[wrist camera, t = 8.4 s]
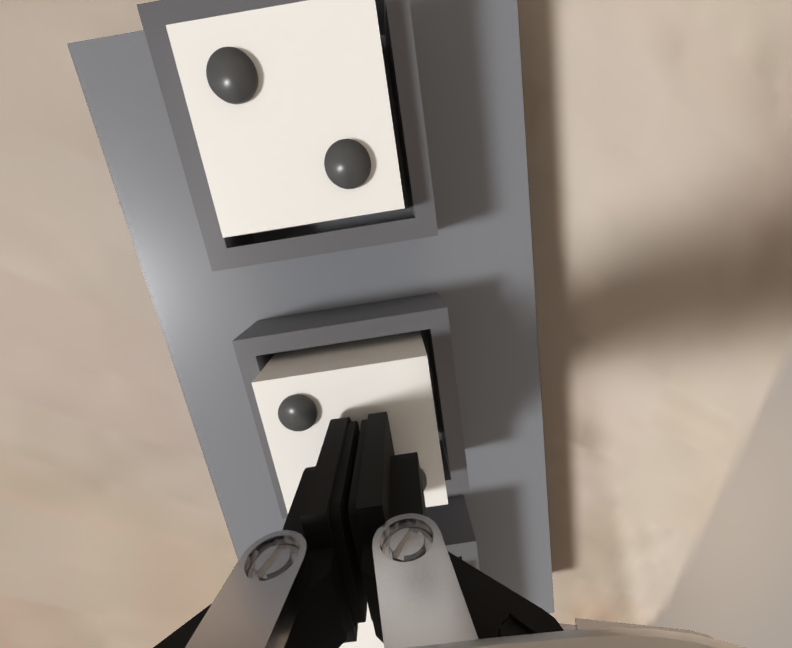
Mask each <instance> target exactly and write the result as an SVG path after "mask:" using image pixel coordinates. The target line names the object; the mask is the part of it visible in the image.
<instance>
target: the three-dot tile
mask: <svg viewBox="0 0 792 648" xmlns="http://www.w3.org/2000/svg"><path fill="white" fill-rule="evenodd" d="M252 387H253V390H254V394H255V397H256V401H257V405H258V408H259V412H260V415H261V419H262V423H263V426H264V430H265V433H266V437H267V441H268V444H269V448H270V451H271V455H272V459H273V462H274V466H275V470H276V473H277V477H278V480H279V484H280V488H281V491H282V495H283V498H284V502H285V506H286V509H287V513H289V510H290V507H291V505H292V502H293V499H294V496H295V493H296V491H297V488H298V485H299V482H300V480H301V477H302V474H303V471H304V470H305V468H307V467H314V466H316V463H317V460H318V457H319V454H320V451H321V448H322V445H323V441H324V438H325V435H326V432H327V429H328V426H329V423H330V420H331V419H338V418H345V417H350V419H351V421H357V422H358V426H359V431H360V428H361V421H362V420H365V419H368V414H372V413H379V412H386V411H387V415H388V419H389V425H390V431H391V436H392V442H393V447H394V453H395V455H399V454H406V453H413V452H417V453H418V459H419V465H420V471H421V477H422V484H423V491H424V498H425V506H426V507H432V506H439V505H446V504H448V498H447V491H446V484H445V477H444V470H443V463H442V456H441V449H440V442H439V435H438V428H437V421H436V414H435V407H434V400H433V393H432V386H431V379H430V372H429V365H428V358H427V353H426V350H425V346H424V343H423V339H422V336H421V332H420V331H413V332H407V333H400V334H394V335H388V336H381V337H375V338H368V339H362V340H355V341H349V342H342V343H336V344H330V345H323V346H317V347H310V348H304V349H297V350H291V351H285V352H278V353H275V354H274V356H273V357H272V358H271V359H270V360H269V362H268V363H267V364H266V365H265V367H264V368H263V369H262V370H261V372H260V373H259V374H258V375H257V376H256V378H255V379H254V380H253V381H252Z"/></svg>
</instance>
